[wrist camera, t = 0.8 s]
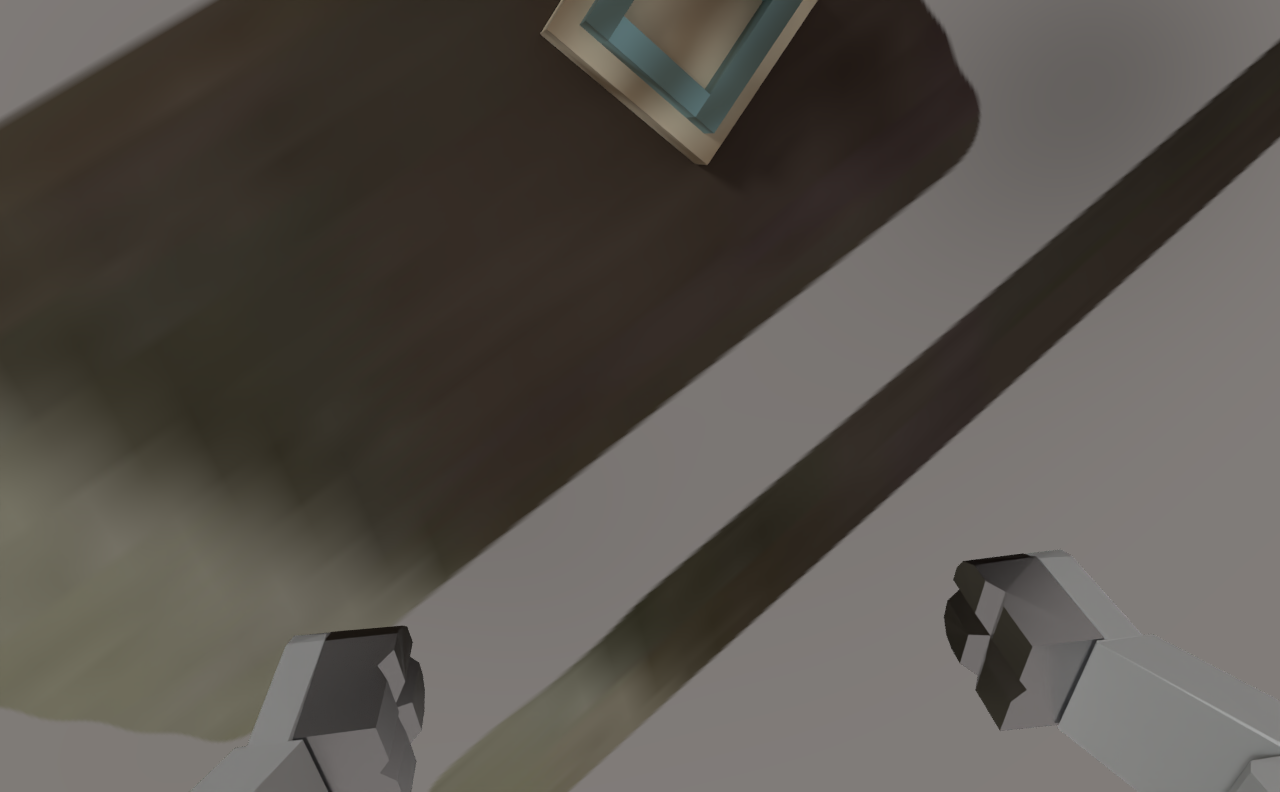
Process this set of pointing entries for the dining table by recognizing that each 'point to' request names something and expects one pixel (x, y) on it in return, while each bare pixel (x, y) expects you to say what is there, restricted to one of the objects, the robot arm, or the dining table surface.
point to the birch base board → (679, 58)
